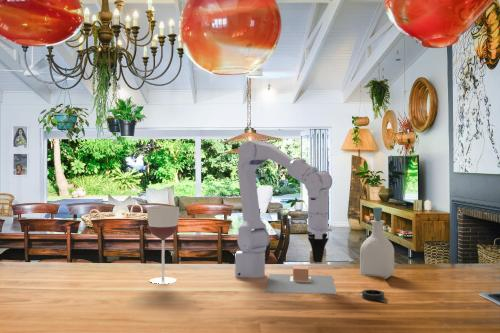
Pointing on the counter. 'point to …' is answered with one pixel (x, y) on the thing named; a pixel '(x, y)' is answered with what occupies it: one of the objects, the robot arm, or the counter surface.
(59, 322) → the counter surface
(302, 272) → the base block
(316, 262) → the top block
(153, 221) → the wineglass
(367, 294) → the duct tape
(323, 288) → the board
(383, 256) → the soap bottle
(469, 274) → the counter surface
